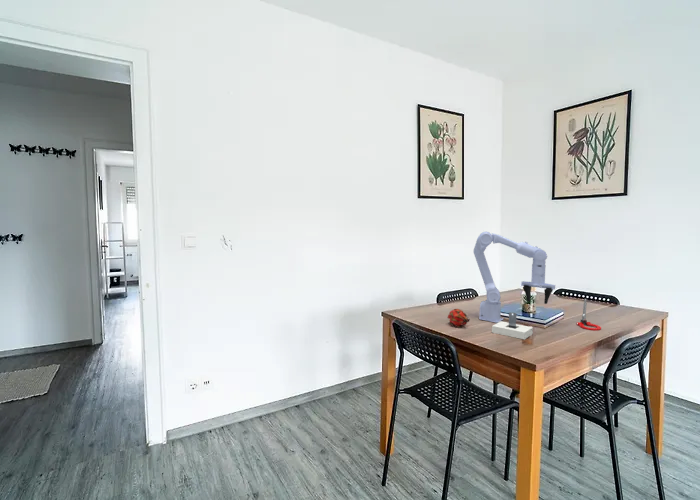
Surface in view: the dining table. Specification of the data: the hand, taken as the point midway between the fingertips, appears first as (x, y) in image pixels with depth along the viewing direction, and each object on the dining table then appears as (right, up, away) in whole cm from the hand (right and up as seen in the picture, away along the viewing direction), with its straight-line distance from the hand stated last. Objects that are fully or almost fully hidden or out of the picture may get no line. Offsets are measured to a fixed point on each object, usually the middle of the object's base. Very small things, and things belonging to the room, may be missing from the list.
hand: (537, 302), depth 179 cm
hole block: (-18, -12, -14) cm, 25 cm away
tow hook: (+21, -11, -6) cm, 25 cm away
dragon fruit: (-38, -11, -1) cm, 40 cm away
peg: (-18, -12, -14) cm, 25 cm away
